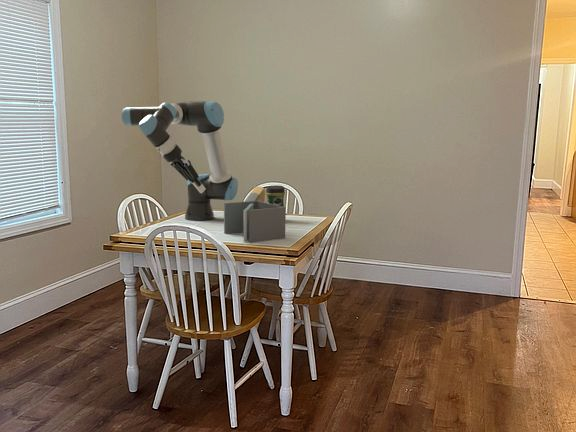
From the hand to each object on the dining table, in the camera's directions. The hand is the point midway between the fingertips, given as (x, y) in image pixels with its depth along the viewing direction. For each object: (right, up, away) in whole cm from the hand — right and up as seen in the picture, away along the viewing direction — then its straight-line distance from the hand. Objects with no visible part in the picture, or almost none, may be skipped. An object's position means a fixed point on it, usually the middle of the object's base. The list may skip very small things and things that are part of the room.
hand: (203, 190), depth 236 cm
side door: (+19, -20, +9) cm, 29 cm away
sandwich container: (+15, -10, +73) cm, 75 cm away
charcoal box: (+21, -20, +13) cm, 32 cm away
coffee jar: (+30, -13, +53) cm, 62 cm away
